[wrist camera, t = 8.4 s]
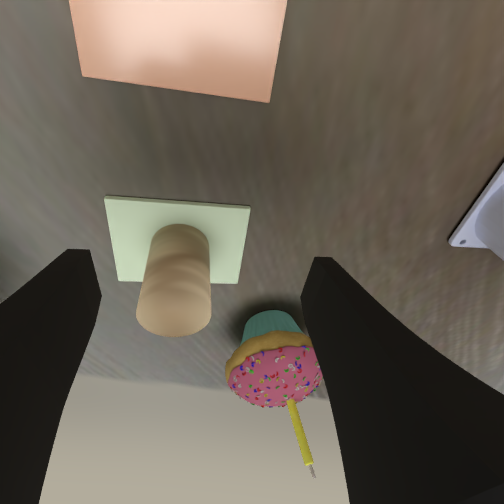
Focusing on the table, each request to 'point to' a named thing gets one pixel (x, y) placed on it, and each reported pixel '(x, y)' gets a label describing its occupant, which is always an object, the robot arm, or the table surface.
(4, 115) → the table surface
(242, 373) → the cupcake
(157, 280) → the tan wooden cylinder
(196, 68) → the mat
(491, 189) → the robot arm
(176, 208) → the mat
